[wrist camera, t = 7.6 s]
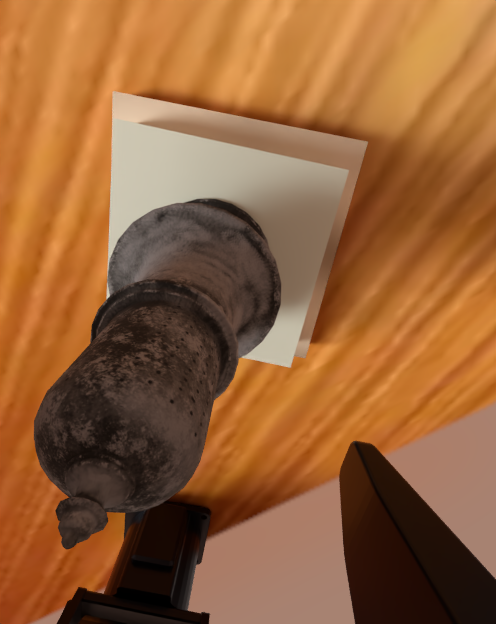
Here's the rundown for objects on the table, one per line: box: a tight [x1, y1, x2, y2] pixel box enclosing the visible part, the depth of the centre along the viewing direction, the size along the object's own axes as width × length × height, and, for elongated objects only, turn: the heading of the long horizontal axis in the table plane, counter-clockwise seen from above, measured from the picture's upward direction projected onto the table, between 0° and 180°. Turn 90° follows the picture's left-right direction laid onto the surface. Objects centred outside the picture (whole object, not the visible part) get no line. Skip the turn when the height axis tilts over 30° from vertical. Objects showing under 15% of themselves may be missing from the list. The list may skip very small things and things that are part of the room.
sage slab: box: [107, 118, 349, 367], centre depth 16 cm, size 9×9×2 cm
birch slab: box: [112, 91, 368, 358], centre depth 19 cm, size 11×11×2 cm
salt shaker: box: [34, 199, 281, 549], centre depth 10 cm, size 6×6×12 cm
